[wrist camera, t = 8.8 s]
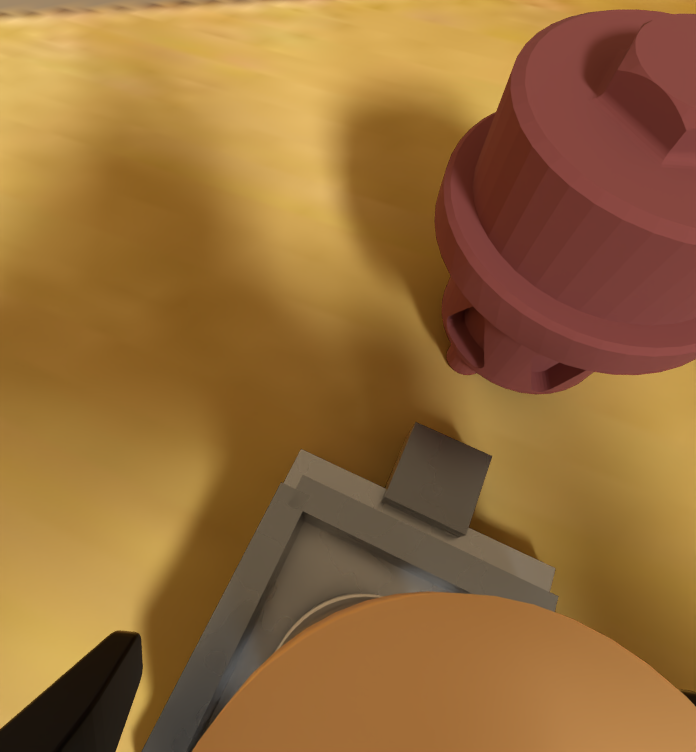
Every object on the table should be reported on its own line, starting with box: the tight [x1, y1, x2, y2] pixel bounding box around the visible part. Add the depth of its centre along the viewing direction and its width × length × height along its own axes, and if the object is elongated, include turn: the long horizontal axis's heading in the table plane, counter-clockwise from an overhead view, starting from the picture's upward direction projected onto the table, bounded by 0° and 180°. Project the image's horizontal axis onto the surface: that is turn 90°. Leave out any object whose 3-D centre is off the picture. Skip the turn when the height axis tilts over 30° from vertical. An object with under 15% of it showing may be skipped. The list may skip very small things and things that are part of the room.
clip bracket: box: [142, 422, 558, 752], centre depth 15 cm, size 14×10×4 cm
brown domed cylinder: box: [192, 592, 696, 752], centre depth 9 cm, size 6×6×13 cm
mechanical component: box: [435, 10, 696, 394], centre depth 16 cm, size 12×10×10 cm
